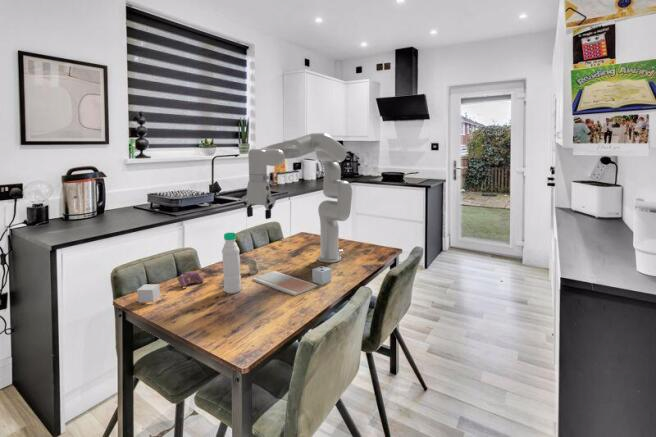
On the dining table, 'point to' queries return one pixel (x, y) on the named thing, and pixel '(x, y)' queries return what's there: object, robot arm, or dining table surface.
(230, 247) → the water bottle
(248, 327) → the dining table surface
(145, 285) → the light grey cube
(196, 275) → the video game controller
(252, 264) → the pawn
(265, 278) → the board
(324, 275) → the die
